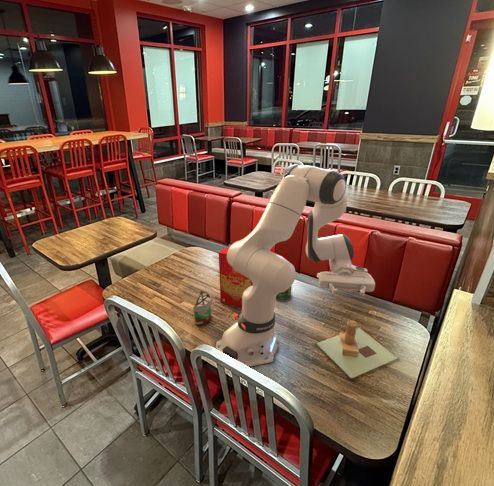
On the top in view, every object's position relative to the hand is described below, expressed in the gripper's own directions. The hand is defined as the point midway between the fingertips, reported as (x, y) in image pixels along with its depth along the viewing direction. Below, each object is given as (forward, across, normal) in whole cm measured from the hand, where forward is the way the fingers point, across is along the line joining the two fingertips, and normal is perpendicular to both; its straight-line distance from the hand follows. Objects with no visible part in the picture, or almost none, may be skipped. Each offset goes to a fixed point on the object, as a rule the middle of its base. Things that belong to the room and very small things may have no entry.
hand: (348, 293), depth 114 cm
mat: (+14, +2, +15) cm, 20 cm away
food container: (+5, -54, +15) cm, 56 cm away
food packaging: (-8, -43, +15) cm, 46 cm away
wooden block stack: (+12, 0, +14) cm, 19 cm away
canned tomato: (-16, -24, +15) cm, 33 cm away
